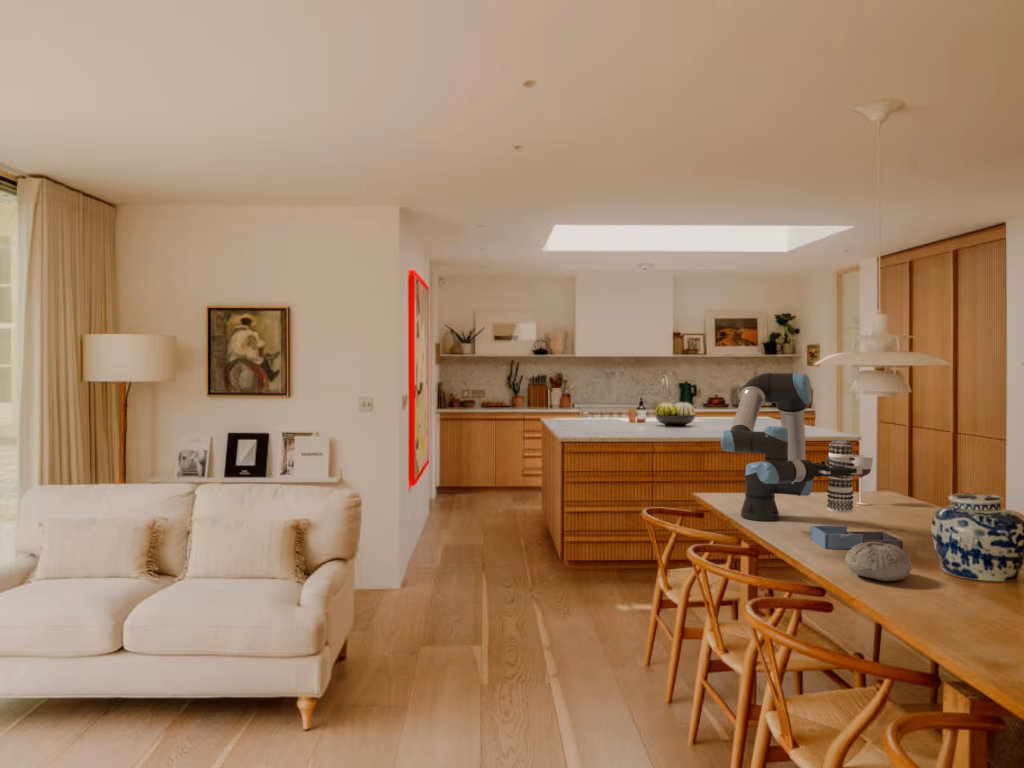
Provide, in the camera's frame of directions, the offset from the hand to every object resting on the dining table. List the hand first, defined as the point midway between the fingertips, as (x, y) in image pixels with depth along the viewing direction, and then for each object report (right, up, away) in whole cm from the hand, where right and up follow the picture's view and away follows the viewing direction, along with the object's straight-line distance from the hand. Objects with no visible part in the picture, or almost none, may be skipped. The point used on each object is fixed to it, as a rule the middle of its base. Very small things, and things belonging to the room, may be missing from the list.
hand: (850, 468), depth 258 cm
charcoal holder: (+8, -27, -1) cm, 28 cm away
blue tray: (-6, -27, -1) cm, 28 cm away
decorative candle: (-4, -15, -1) cm, 16 cm away
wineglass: (+38, -25, +72) cm, 85 cm away
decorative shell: (-11, -28, -41) cm, 51 cm away
